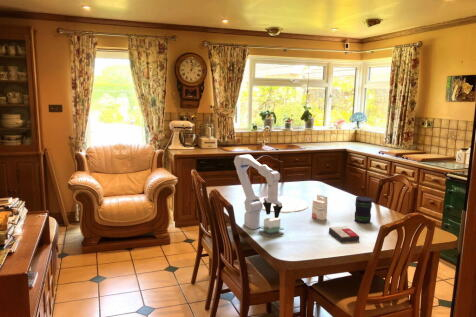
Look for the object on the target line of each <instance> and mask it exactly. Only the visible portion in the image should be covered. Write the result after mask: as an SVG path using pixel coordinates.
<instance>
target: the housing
mask: <svg viewBox="0 0 476 317" xmlns="http://www.w3.org/2000/svg"><path fill="white" fill-rule="evenodd" d="M263 226H264V229H266V230H267V229H268V230H271V229H276V228H280V227H281V218H279V217H278V218H275V216H272V217H268V218H263ZM264 229H263V230H264Z"/></svg>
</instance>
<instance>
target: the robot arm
mask: <svg viewBox="0 0 476 317" xmlns="http://www.w3.org/2000/svg"><path fill="white" fill-rule="evenodd" d="M233 163H234V166H235V169H236V173H237V176H238V179H239V181H240V184H241V187H242V191H243V193H244V196H245V198H246V199H245V200H244V202H243V203H244V209H245V212H244V221H243V222H244V223H243V226H244V227H246V228H248V229H250V230H256V229H260V228H259V226H262V225H261V224H260V222H261V212H262V208H263V205H264V207H265V210H264V211H265V213H266V215H270V214H271V205H272V204H275V205H276V206H273V208H274V212H273V214H274V217H275V218H279V217H280V213H281V212H280V211H281V209H282V207H283V206H282V203H281V202H280V201H278V196H279V181H280V180H281V173H280V172H279V171H278V170H273V169H272V168H271V167H269V166H268V165H267V164H261V163H260V162H258V161H257V160H256V159H255V158H254V157H253V156H252V155H251V154H249V153H247V154H242V155H236V156H235V157H234V160H233ZM249 167H252V168H254V169H256V170H257V172H258V174H260V175H261V176H263V178H265V179H266V184H267V196H268V198H267V196H264V197H265V198H264V199H263V201H265V202H263V204H262V202H261V201H260V199H259V198H260V197H259V196H257V195H256V194H255V191H254V189H253V186H252V183H251V181H250V178H249V175H248V173H247V170H248V169H249Z"/></svg>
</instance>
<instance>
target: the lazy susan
mask: <svg viewBox="0 0 476 317" xmlns="http://www.w3.org/2000/svg"><path fill="white" fill-rule="evenodd" d="M265 197H267V198H268V195H267V196H263V197H259V199H260V201H261V202H262V204H263V202H265V201H263V199H264V198H265ZM278 201H280V202H281V203H282V206H283V207H282V209H281V211H280V213H296V212H302V211H304V210H306V209H307V208H309V204H308V203H307V201H305V200H303V199H300V198H296V197H291V196H279V195H278ZM273 206H276V205H275V204H272V205H271V211H270V213H271V212H272V213H274V208H273ZM262 210H263V211H266V210H265V207H264V205H263V208H262ZM262 210H261V211H262Z"/></svg>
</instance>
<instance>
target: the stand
mask: <svg viewBox="0 0 476 317" xmlns="http://www.w3.org/2000/svg"><path fill="white" fill-rule="evenodd" d="M258 229H261V230H259V231H258V233H259V234H261V235H263V236H265V237H268V238H275V237H278V236H283V235H284V234H285V233H284V232H283V231H284V229H285V228H284V227H282V226H280V228H276V229H271V230H268V229H267V230H266V229H264V225H261V226H259V228H258ZM282 230H283V231H282Z"/></svg>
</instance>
